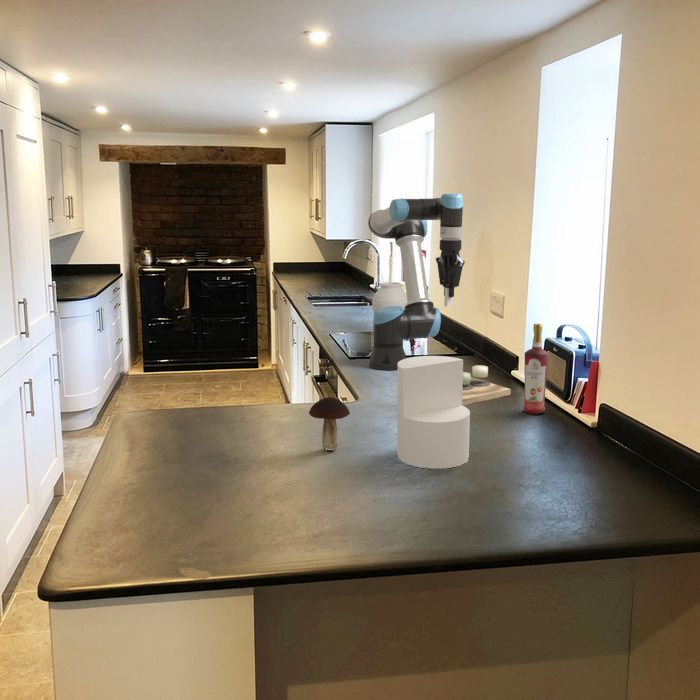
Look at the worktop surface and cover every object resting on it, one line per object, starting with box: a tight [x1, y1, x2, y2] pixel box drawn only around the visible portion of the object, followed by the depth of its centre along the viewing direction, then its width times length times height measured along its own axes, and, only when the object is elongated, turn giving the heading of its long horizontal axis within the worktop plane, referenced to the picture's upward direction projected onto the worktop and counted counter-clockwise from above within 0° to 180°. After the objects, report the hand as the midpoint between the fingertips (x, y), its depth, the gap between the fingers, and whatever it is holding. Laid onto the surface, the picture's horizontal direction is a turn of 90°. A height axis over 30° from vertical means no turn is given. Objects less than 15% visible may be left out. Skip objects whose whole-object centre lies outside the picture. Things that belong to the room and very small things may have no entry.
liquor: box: [522, 323, 550, 415], centre depth 222 cm, size 7×7×28 cm
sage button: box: [463, 371, 472, 384], centre depth 246 cm, size 5×5×3 cm
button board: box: [462, 376, 512, 406], centre depth 247 cm, size 22×24×3 cm
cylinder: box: [396, 355, 471, 469], centre depth 186 cm, size 19×19×25 cm
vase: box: [371, 281, 408, 314], centre depth 343 cm, size 18×18×25 cm
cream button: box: [471, 364, 489, 379], centre depth 250 cm, size 5×5×3 cm
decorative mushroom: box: [308, 396, 351, 449], centre depth 192 cm, size 11×11×15 cm
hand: (448, 305), depth 255 cm, fingers closed
